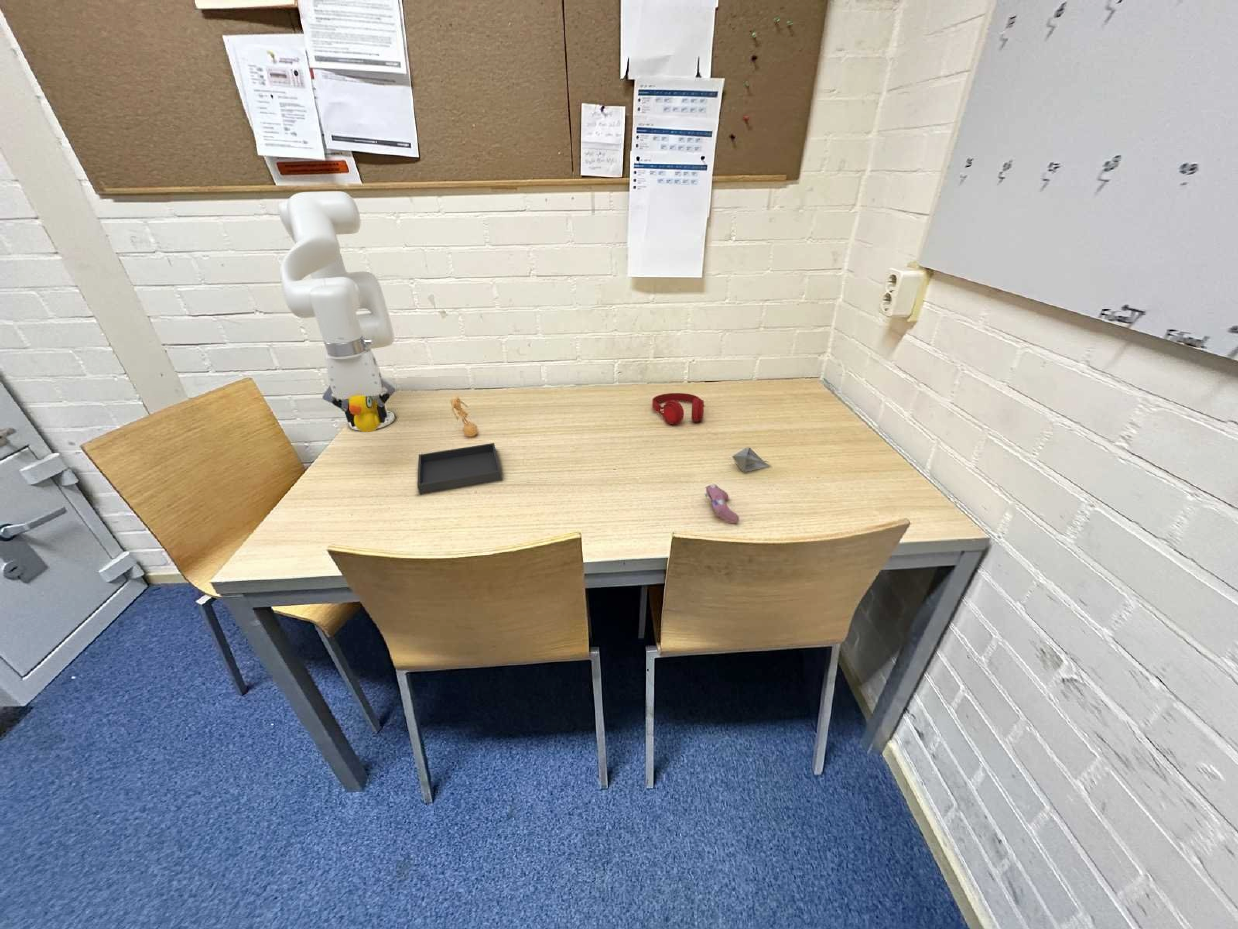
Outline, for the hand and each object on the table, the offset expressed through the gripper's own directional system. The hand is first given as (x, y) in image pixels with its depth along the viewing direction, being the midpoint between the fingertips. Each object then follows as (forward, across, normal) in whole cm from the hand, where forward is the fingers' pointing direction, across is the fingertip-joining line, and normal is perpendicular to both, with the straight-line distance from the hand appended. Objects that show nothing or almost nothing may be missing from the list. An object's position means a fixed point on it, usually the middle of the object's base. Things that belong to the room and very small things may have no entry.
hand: (368, 421), depth 115 cm
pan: (+15, -18, +3) cm, 24 cm away
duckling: (+2, 0, 0) cm, 2 cm away
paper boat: (+15, -87, +26) cm, 92 cm away
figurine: (+16, -21, -16) cm, 31 cm away
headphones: (+16, -84, -11) cm, 86 cm away
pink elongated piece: (+15, -72, +39) cm, 83 cm away
